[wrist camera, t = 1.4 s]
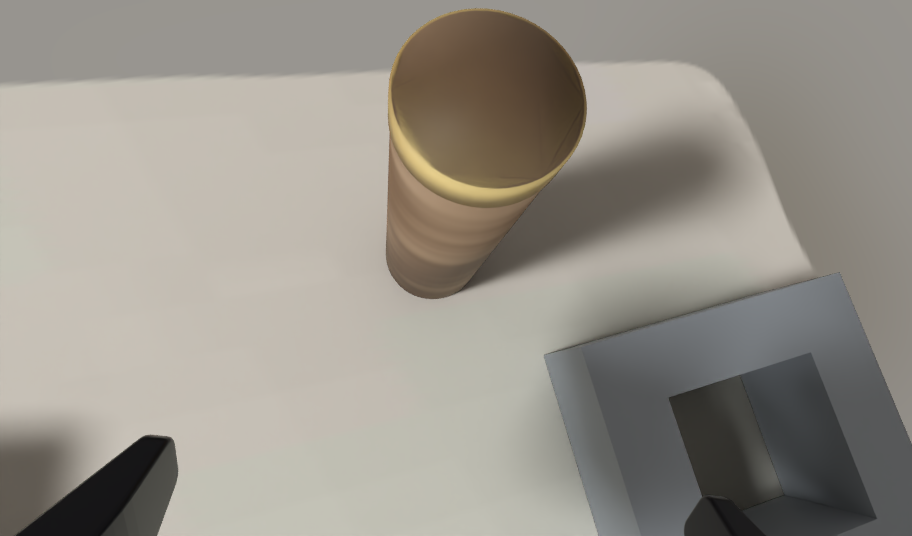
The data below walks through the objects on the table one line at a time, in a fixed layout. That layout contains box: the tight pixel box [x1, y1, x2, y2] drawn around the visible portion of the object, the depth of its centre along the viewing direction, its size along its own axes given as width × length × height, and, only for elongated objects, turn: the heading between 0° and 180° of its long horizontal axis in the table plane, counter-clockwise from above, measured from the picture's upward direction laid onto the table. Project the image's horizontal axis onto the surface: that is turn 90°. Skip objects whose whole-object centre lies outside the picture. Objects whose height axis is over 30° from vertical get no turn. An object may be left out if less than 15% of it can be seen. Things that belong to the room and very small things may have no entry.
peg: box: [386, 8, 587, 299], centre depth 17 cm, size 4×4×13 cm
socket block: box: [544, 272, 912, 536], centre depth 21 cm, size 11×11×4 cm
